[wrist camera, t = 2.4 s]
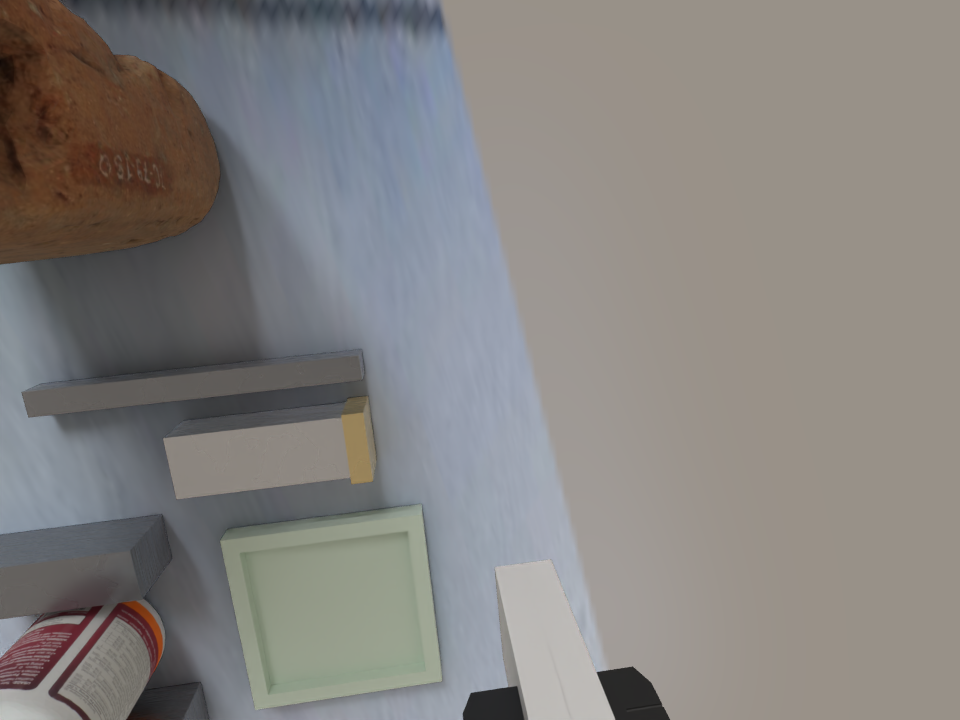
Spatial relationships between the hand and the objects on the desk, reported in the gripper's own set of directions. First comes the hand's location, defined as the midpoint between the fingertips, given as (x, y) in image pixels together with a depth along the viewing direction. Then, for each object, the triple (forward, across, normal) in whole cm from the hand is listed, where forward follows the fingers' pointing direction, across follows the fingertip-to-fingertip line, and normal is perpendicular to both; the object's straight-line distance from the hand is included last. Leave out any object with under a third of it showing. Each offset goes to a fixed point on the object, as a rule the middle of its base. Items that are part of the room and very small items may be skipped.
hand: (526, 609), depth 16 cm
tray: (+16, -8, -9) cm, 20 cm away
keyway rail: (+16, -13, +4) cm, 20 cm away
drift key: (+16, -10, 0) cm, 19 cm away
